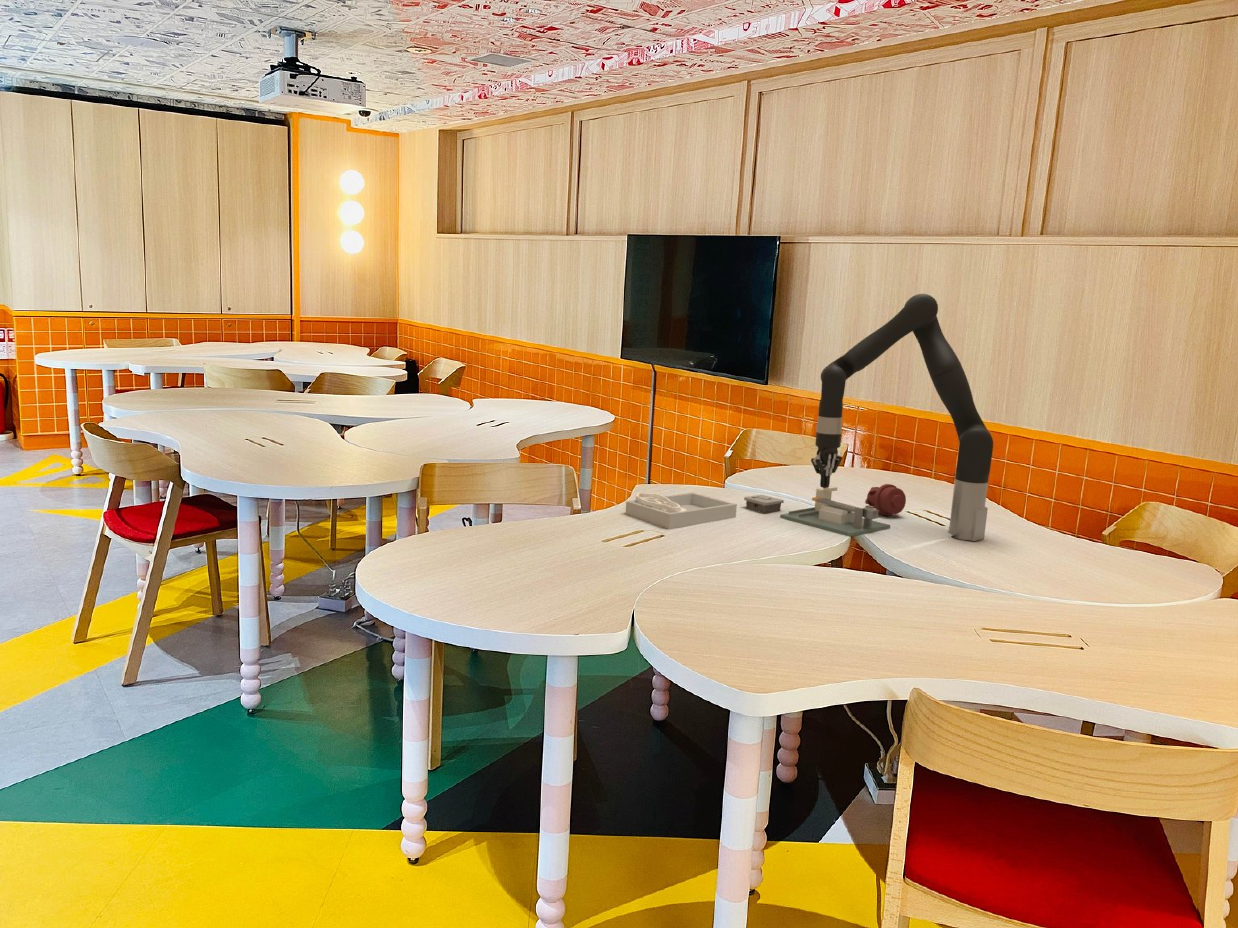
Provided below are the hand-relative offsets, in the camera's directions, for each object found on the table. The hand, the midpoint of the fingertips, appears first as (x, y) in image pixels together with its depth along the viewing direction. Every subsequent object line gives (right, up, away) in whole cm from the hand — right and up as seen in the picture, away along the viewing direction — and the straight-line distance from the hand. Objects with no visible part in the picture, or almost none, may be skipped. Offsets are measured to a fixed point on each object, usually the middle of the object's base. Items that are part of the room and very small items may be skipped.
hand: (824, 487), depth 287 cm
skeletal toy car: (-51, -11, -8) cm, 53 cm away
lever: (+5, -7, -5) cm, 10 cm away
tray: (-44, -9, -4) cm, 45 cm away
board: (+3, -11, -2) cm, 11 cm away
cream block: (+1, -8, +10) cm, 13 cm away
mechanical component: (+22, -9, +14) cm, 28 cm away
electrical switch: (-20, -8, +7) cm, 23 cm away
